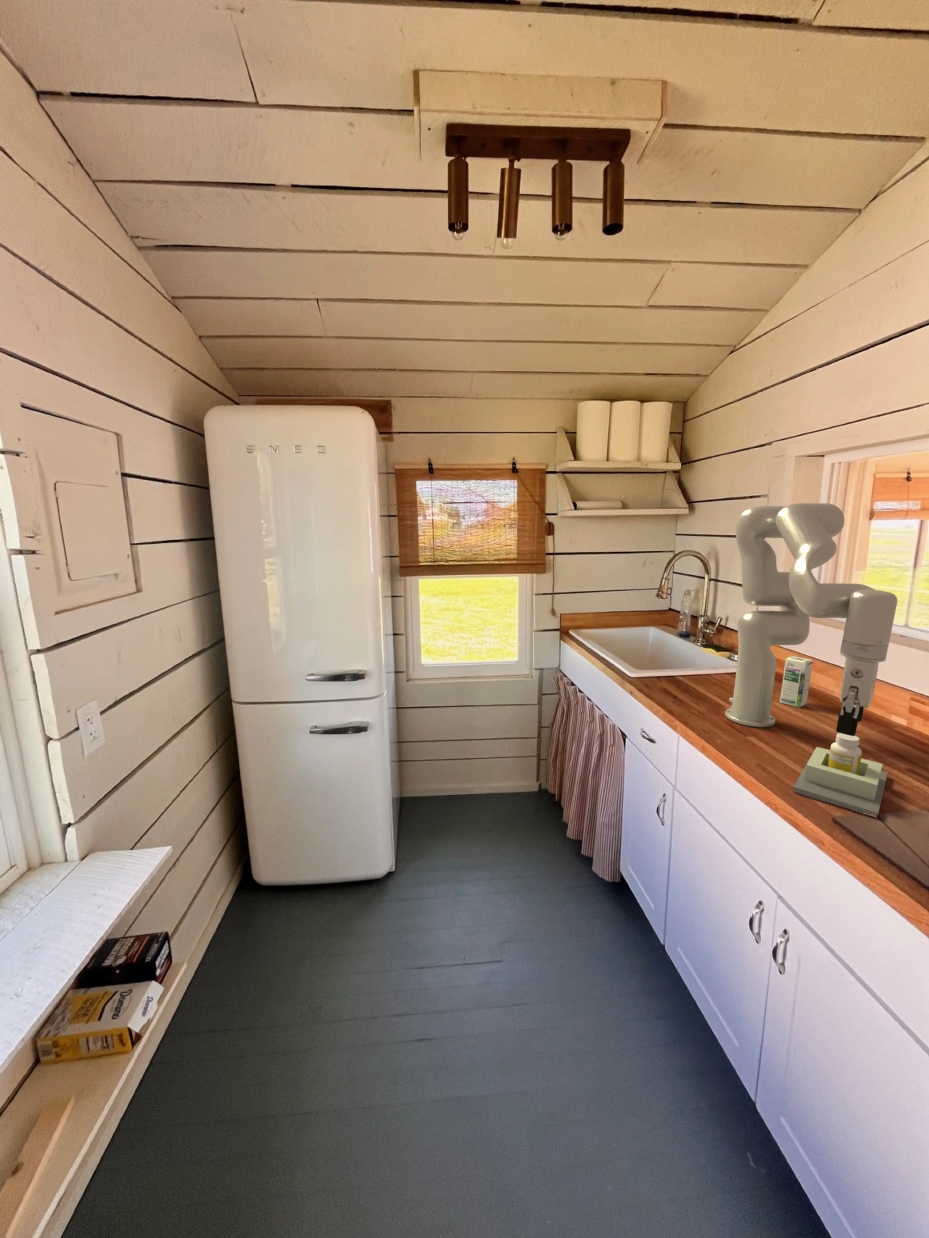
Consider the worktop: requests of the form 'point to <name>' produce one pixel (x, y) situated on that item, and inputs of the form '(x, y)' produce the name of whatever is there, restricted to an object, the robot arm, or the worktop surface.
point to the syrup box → (796, 681)
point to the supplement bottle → (845, 754)
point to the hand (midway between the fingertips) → (848, 726)
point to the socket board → (841, 795)
